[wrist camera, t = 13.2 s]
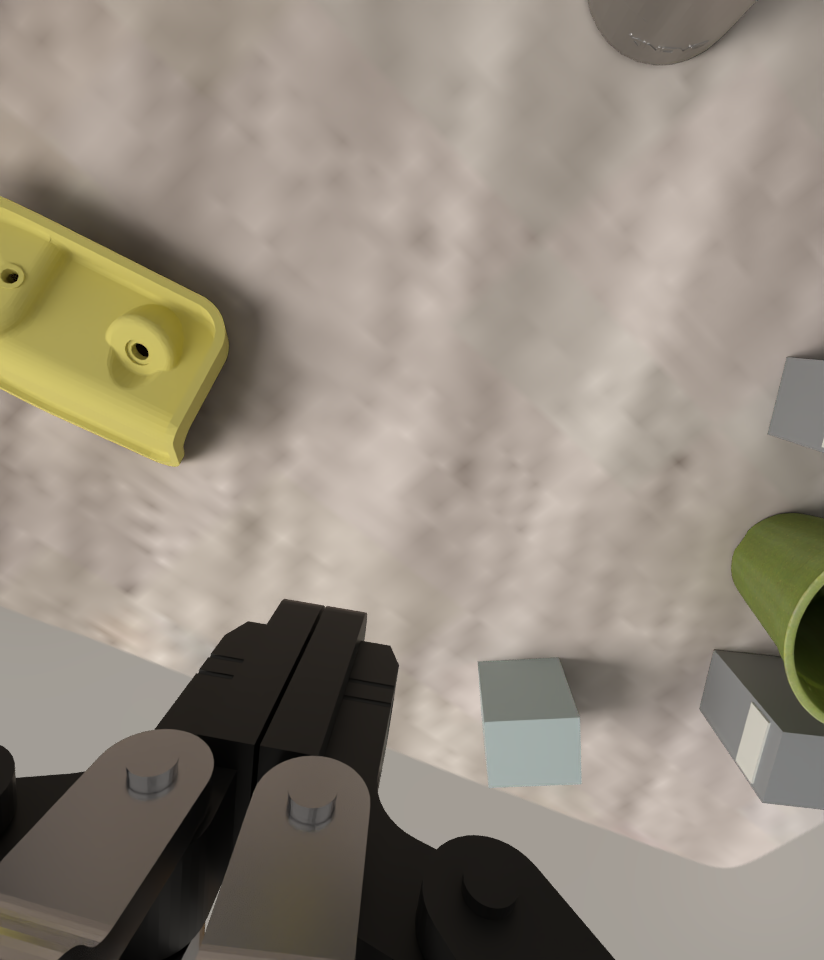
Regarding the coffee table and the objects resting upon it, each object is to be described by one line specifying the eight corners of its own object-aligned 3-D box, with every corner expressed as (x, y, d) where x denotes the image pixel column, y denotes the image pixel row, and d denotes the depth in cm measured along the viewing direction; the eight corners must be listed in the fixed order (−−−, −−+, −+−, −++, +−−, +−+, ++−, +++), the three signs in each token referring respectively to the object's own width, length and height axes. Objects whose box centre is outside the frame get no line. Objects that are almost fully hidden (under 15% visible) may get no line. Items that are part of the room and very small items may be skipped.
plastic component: (239, 314, 36) (161, 457, 34) (246, 353, 44) (182, 473, 42) (-85, 151, 34) (-190, 297, 32) (-20, 221, 41) (-102, 344, 39)
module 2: (712, 649, 43) (780, 731, 34) (853, 664, 43) (958, 751, 34) (697, 708, 44) (759, 802, 35) (834, 723, 44) (931, 821, 35)
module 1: (477, 661, 44) (484, 722, 37) (558, 657, 44) (579, 717, 37) (481, 719, 45) (488, 787, 39) (560, 715, 45) (581, 783, 38)
